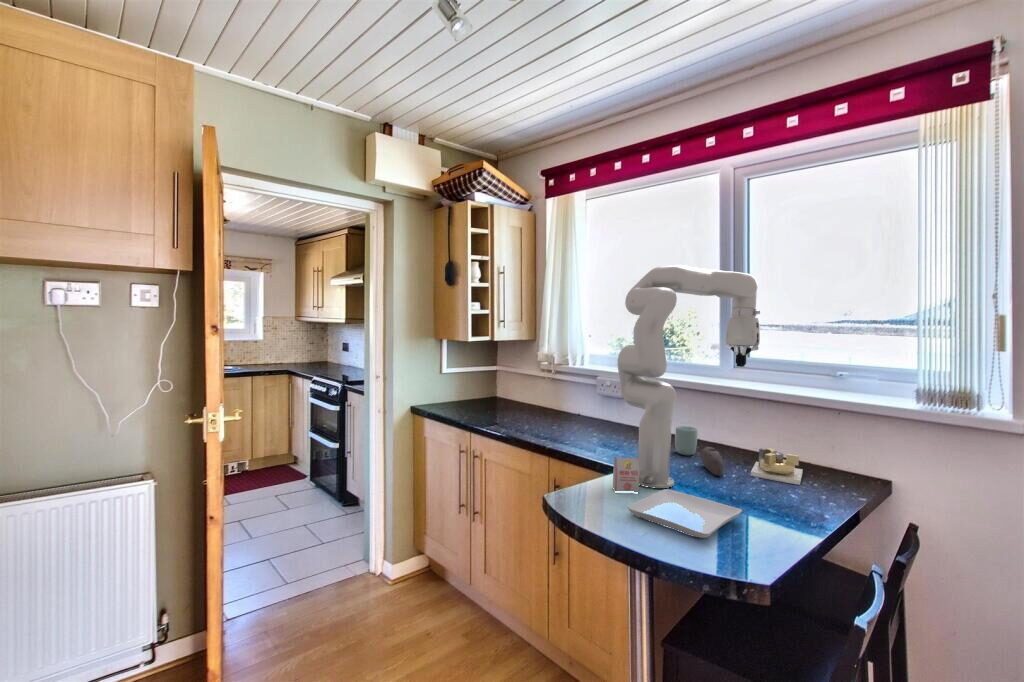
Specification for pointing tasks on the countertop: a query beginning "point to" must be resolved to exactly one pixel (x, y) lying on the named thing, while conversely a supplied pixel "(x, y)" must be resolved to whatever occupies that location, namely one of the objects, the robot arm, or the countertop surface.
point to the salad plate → (705, 508)
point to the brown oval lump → (712, 460)
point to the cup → (686, 440)
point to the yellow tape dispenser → (779, 462)
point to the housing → (787, 478)
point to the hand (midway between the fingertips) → (740, 366)
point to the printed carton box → (626, 474)
